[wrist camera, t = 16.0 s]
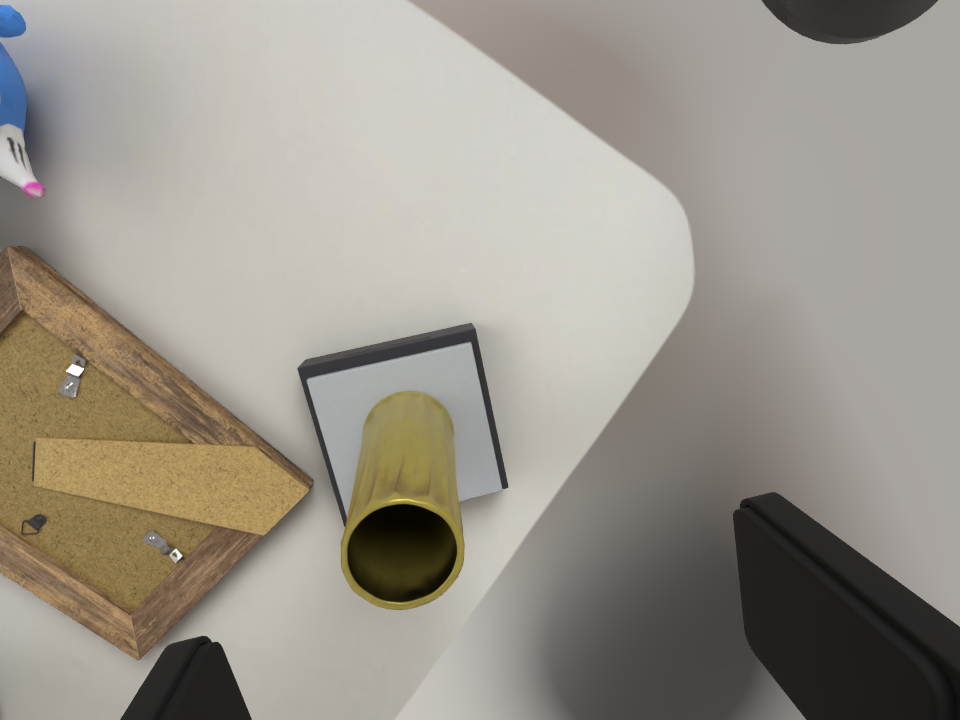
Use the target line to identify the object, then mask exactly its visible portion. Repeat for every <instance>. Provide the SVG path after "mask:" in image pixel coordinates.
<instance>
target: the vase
mask: <svg viewBox="0 0 960 720" xmlns="http://www.w3.org/2000/svg"><path fill="white" fill-rule="evenodd" d="M453 440H454V426H453V423H452V420H451V417H450V415H449V413H448V411H447V410H446V408H445V407H444V406H443V405H442V404H441V403H440V402H439V401H437V400H436V399H434V398H433V397H431V396H429V395H427V394H424V393H420V392H415V391H403V392H398V393H394V394H392V395H389V396H387V397H385V398H384V399H382V400H381V401H379V402H378V403H377V404H376V405H375V406H374V407H373V408H372V409H371V411H370V412H369V414H368V416H367V418H366V420H365V423H364V425H363V438H362V444H361V451H360V456H359V461H358V465H357V471H356V477H355V482H354V486H353V492H352V497H351V502H350V507H349V511H348V516H347V522H346V526H345V531H344V535H343V538H342V541H341V567H342V571H343V573H344V576H345V578H346V580H347V582H348V584H349V585H350V587H351V588H352V590H353V591H354V592H355V593H357V594H358V595H359V596H361V597H362V598H364V599H365V600H367V601H368V602H370V603H372V604H374V605H376V606H378V607H382V608H386V609H396V610H403V609H411V608H415V607H418V606H421V605H424V604H427V603H429V602H431V601H433V600H435V599H436V598H438V597H439V596H441V595H442V594H443V593H444V592H445V591H446V590H447V589H448V588H449V587H450V586H451V585H452V584H453V582H454V581H455V580H456V578H457V577H458V575H459V573H460V571H461V568H462V566H463V560H464V537H463V527H462V519H461V512H460V506H459V499H458V489H457V480H456V463H455V446H454V441H453Z"/></svg>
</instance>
